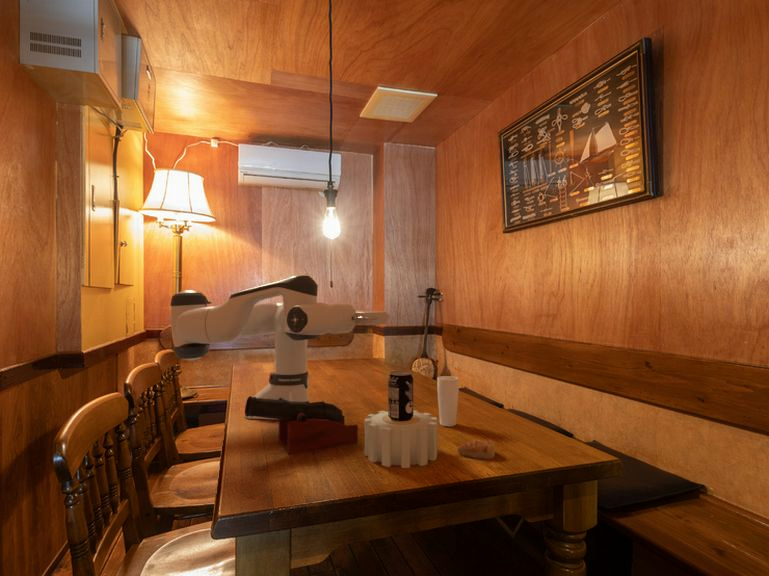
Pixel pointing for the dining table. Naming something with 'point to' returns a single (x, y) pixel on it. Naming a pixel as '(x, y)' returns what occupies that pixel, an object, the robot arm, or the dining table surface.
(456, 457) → the dining table surface
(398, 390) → the beverage can
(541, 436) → the dining table surface
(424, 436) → the gear pedestal
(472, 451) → the pastry
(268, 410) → the cannon model
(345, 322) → the robot arm
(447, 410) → the drinking glass
